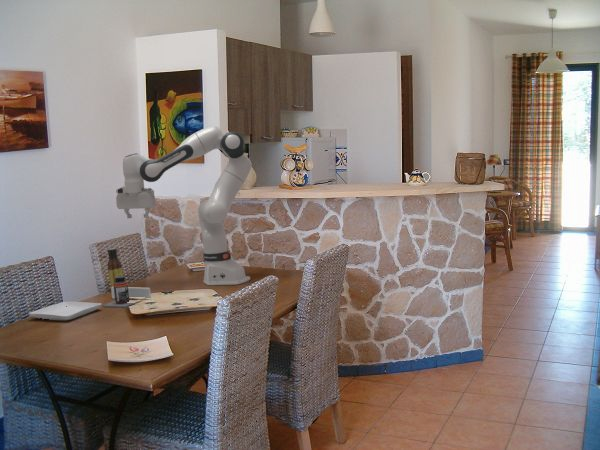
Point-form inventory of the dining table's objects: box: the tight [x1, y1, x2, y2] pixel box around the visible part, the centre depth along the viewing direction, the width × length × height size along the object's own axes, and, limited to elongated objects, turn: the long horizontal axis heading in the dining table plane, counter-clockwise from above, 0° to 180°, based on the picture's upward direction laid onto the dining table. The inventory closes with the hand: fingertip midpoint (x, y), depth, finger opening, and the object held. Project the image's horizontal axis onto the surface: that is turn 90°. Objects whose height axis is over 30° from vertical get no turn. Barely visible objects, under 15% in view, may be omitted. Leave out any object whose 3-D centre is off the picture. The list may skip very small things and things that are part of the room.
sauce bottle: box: [107, 247, 124, 288], centre depth 341 cm, size 6×6×20 cm
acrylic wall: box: [110, 286, 152, 300], centre depth 321 cm, size 20×1×5 cm, turn 66°
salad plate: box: [28, 301, 103, 322], centre depth 299 cm, size 21×21×3 cm
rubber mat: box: [101, 300, 134, 309], centre depth 312 cm, size 12×12×1 cm
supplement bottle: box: [113, 275, 129, 304], centre depth 311 cm, size 6×6×11 cm
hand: (137, 218), depth 341 cm, fingers open, 8 cm apart
